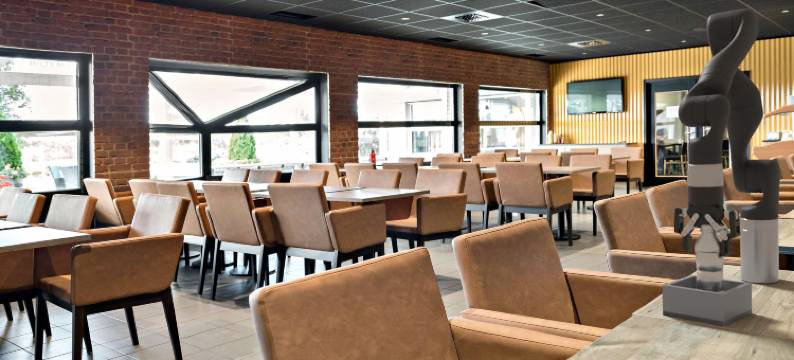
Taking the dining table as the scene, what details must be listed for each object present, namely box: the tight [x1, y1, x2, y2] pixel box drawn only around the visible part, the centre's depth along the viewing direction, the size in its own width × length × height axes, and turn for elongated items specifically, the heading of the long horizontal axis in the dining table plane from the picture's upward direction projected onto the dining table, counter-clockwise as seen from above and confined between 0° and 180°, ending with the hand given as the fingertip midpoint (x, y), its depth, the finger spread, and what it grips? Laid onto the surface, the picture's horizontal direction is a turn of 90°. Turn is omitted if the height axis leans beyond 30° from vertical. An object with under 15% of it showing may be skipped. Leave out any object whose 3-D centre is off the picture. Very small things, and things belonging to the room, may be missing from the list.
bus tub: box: [661, 274, 753, 327], centre depth 154 cm, size 14×14×7 cm
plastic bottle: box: [693, 224, 725, 293], centre depth 154 cm, size 6×7×20 cm
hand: (706, 254), depth 154 cm, fingers open, 8 cm apart
